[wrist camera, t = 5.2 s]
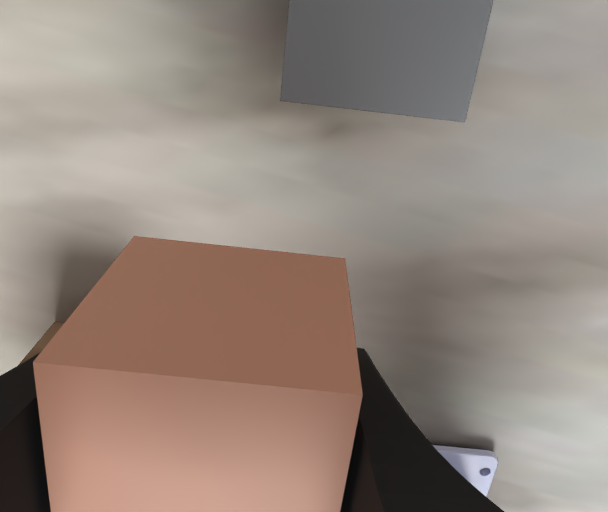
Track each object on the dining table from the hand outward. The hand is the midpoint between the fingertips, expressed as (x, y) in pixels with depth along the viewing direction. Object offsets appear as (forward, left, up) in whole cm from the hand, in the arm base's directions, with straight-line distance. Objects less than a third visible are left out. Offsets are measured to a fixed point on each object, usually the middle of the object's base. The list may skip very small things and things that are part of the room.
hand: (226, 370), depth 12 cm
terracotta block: (0, 0, -1) cm, 1 cm away
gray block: (+8, -3, -10) cm, 13 cm away
